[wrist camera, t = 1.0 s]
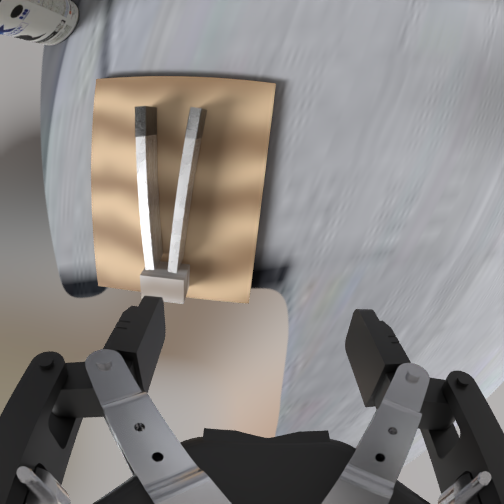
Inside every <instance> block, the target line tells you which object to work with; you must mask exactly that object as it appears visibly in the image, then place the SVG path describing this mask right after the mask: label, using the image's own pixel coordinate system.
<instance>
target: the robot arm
mask: <svg viewBox="0 0 504 504" xmlns="http://www.w3.org/2000/svg"><path fill="white" fill-rule="evenodd" d="M395 336H396V335H395V334H394V332H393V330H392V329H391V327H390V326H388V325H387V324H386V323H385V322H384V321H379V319H378V317H377V316H376V314H375V312H374V311H373V310H372V309H356V310H355V311H354V313H353V316H352V320H351V323H350V326H349V330H348V333H347V337H346V341H345V349H346V353H347V356H348V359H349V361H350V364H351V367H352V370H353V373H354V376H355V378H356V381H357V384H358V387H359V390H360V393H361V396H362V399H363V402H364V405H365V407H373V406H376V409H377V410H376V412H375V414H374V416H373V418H372V420H371V422H370V424H369V425H368V427H367V429H366V431H365V433H364V434H363V436H362V438H361V440H360V441H359V443H358V445H357V447H356V448H354V447H352V446H350V445H348V444H346V443H343V442H341V441H337V440H333V439H330V438H329V433H328V431H306V432H295V433H291V434H287V435H282V436H277V437H273V438H264V437H259V436H255V435H251V434H246V433H242V432H239V431H233V430H218V429H206V428H204V434H203V437H197V438H192V439H189V440H185V441H183V442H179V441H178V439H177V438H176V437H175V435H174V434H173V432H172V431H171V429H170V428H169V426H168V425H167V423H166V422H165V420H164V419H163V417H162V416H161V414H160V413H159V411H158V410H157V408H156V406H155V405H154V403H153V402H152V400H151V399H150V397H149V395H148V394H147V393H148V390H149V386H150V383H151V380H152V377H153V374H154V370H155V368H156V364H157V361H158V358H159V355H160V352H161V349H162V346H163V343H164V340H165V317H164V303H163V298H162V297H156V296H146V295H145V296H144V297H143V299H142V301H141V303H140V304H139V306H138V307H137V306H131V307H130V308H128V309H127V310H126V311H124V312H123V314H122V316H121V317H120V319H119V322H117V324H116V326H115V328H114V330H113V332H112V333H111V335H110V337H109V339H108V341H107V343H106V344H105V346H104V348H103V349H102V350H98V351H95V352H93V353H92V354H90V355H89V356H88V357H87V359H86V361H85V362H75V363H65V361H64V359H63V357H62V356H61V355H60V354H59V353H56V352H43V353H41V354H39V355H37V356H36V357H35V358H34V359H33V360H32V361H31V363H30V365H29V366H28V368H27V369H26V371H25V373H24V374H23V376H22V378H21V380H20V381H19V383H18V385H17V387H16V388H15V390H14V392H13V394H12V396H11V397H10V399H9V401H8V403H7V405H6V406H5V408H4V410H3V412H2V414H1V416H0V504H70V497H69V495H68V493H67V492H66V490H65V489H64V488H63V487H62V486H61V484H62V481H63V477H64V474H65V471H66V467H67V464H68V461H69V457H70V455H71V451H72V448H73V445H74V442H75V439H76V436H77V433H78V430H79V427H80V424H81V422H82V419H83V417H104V418H105V421H106V423H107V425H108V427H109V429H110V431H111V433H112V435H113V438H114V440H115V442H116V444H117V446H118V448H119V450H120V451H121V454H122V456H123V458H124V459H125V461H126V463H127V465H128V467H129V469H130V471H131V473H132V474H133V476H132V477H131V478H129V479H128V480H127V481H126V482H124V483H122V484H121V485H120V486H118V487H117V488H115V489H114V490H112V491H111V492H109V493H108V494H107V495H105V496H104V497H102V498H101V499H99V500H97V501H96V502H94V503H93V504H430V503H429V502H427V501H426V500H424V499H423V498H421V497H420V496H419V495H417V494H416V493H414V492H413V491H412V490H410V489H409V488H407V487H406V486H405V485H403V484H402V483H400V482H399V481H398V480H397V478H398V476H399V474H400V471H401V469H402V467H403V465H404V462H405V460H406V457H407V455H408V452H409V450H410V447H411V445H412V442H413V440H414V437H415V434H416V431H417V429H418V428H419V429H420V430H421V433H422V435H423V438H424V441H425V444H426V447H427V450H428V453H429V456H430V459H431V462H432V464H433V468H434V471H435V474H436V478H437V481H438V484H439V487H440V491H441V495H440V497H439V500H438V504H504V433H503V431H502V429H501V428H500V425H499V423H498V422H497V420H496V418H495V416H494V414H493V412H492V410H491V408H490V407H489V405H488V403H487V401H486V399H485V398H484V396H483V394H482V392H481V391H480V389H479V387H478V385H477V384H476V382H475V380H474V379H473V378H472V377H471V376H470V375H469V374H467V373H465V372H462V371H453V372H451V373H450V374H449V375H448V377H447V378H446V380H442V379H435V378H430V377H429V374H428V372H427V371H426V370H425V369H424V368H423V367H421V366H419V365H417V364H413V363H411V362H410V360H409V358H408V357H407V355H406V353H405V351H404V350H403V348H402V346H401V344H400V343H399V341H398V339H397V337H395ZM455 420H456V422H457V424H458V426H459V428H460V433H461V434H460V438H459V436H458V434H457V431H456V429H455V427H454V424H453V422H454V421H455Z"/></svg>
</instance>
